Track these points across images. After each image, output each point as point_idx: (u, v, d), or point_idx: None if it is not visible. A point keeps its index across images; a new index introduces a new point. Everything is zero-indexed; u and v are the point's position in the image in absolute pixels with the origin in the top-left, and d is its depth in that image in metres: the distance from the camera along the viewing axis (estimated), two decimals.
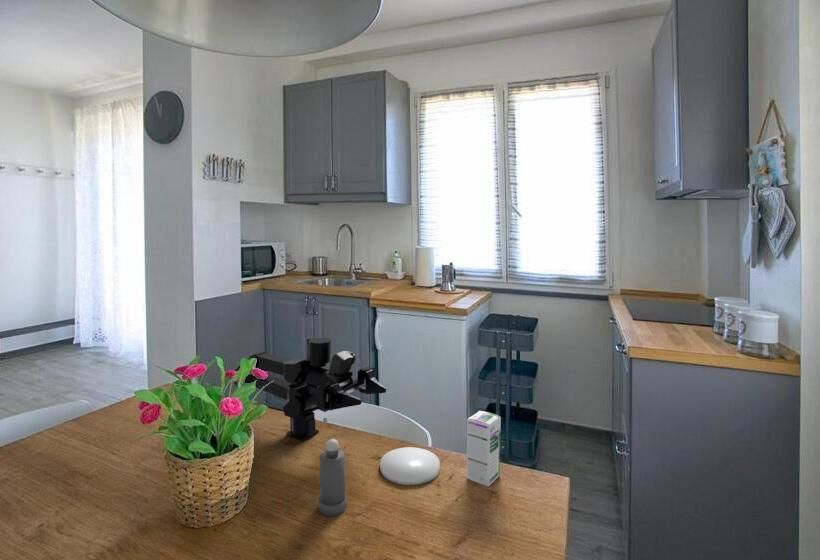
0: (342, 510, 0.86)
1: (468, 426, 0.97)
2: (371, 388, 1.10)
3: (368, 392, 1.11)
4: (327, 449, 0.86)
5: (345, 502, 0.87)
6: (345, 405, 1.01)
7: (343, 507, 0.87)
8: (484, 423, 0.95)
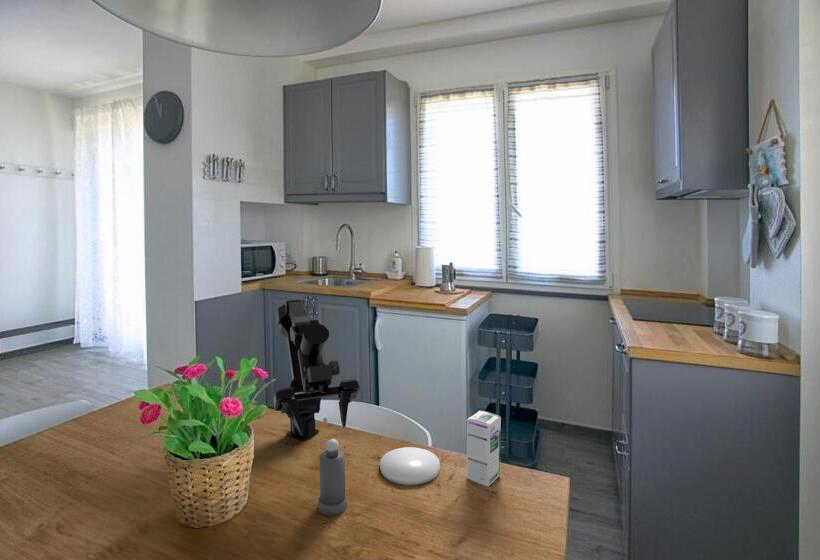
0: (342, 510, 0.86)
1: (468, 426, 0.97)
2: (340, 408, 0.99)
3: (339, 406, 1.01)
4: (327, 449, 0.86)
5: (345, 502, 0.87)
6: (293, 421, 0.95)
7: (343, 507, 0.87)
8: (484, 423, 0.95)
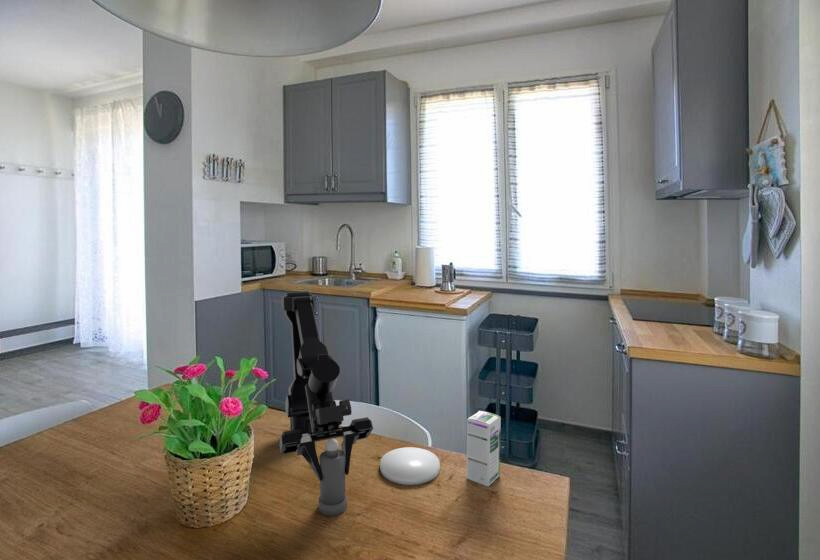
0: (342, 510, 0.86)
1: (468, 426, 0.97)
2: None
3: (341, 449, 0.92)
4: (327, 449, 0.86)
5: (345, 502, 0.87)
6: (310, 464, 0.88)
7: (343, 507, 0.87)
8: (484, 423, 0.95)
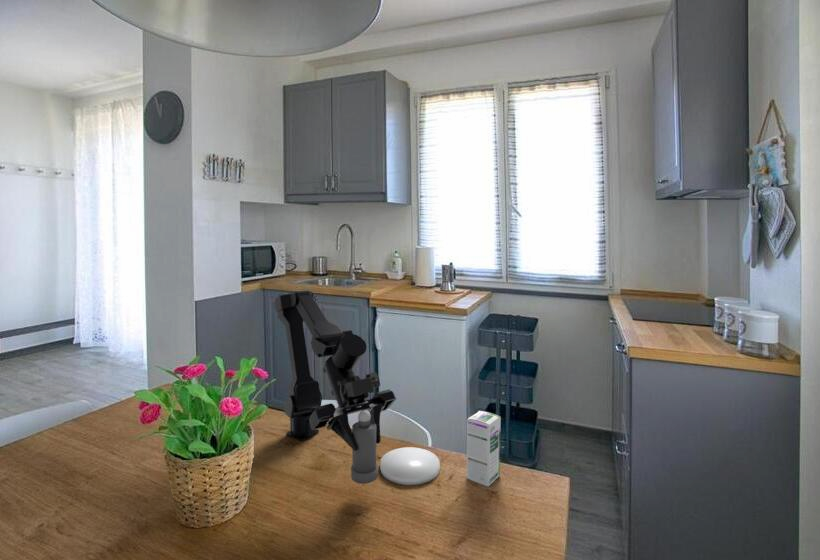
0: (375, 476, 0.90)
1: (468, 426, 0.97)
2: None
3: None
4: (361, 420, 0.89)
5: (377, 469, 0.91)
6: (342, 437, 0.90)
7: (376, 474, 0.91)
8: (484, 423, 0.95)
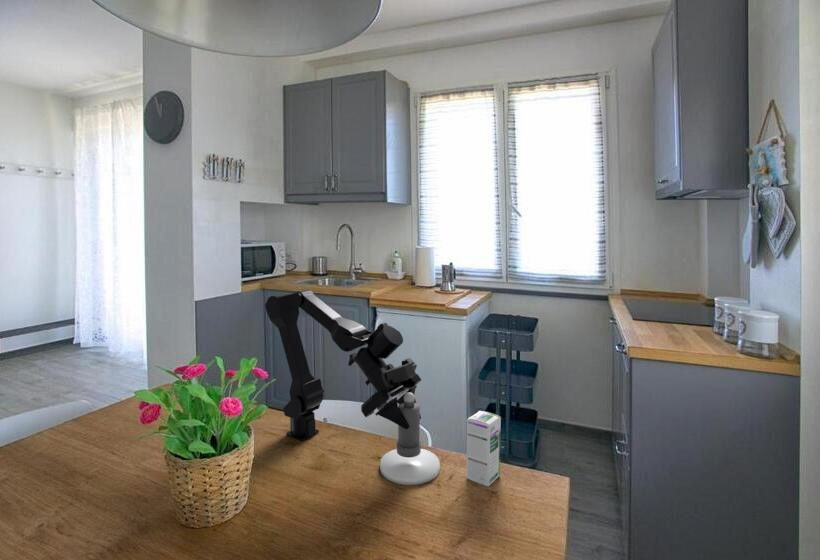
0: (420, 449, 1.02)
1: (468, 426, 0.97)
2: None
3: (400, 403, 1.06)
4: (409, 401, 0.99)
5: None
6: (391, 419, 0.99)
7: (420, 447, 1.02)
8: (484, 423, 0.95)
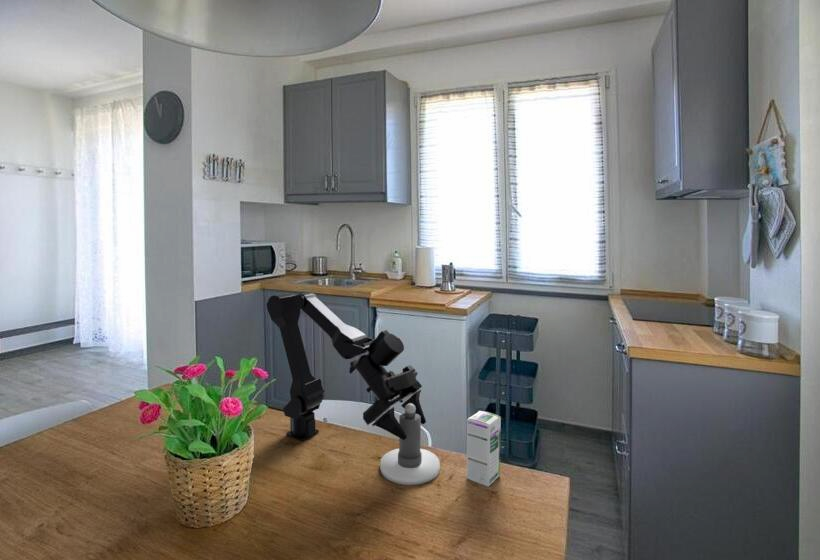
0: (421, 460, 1.03)
1: (468, 426, 0.97)
2: None
3: None
4: (409, 412, 1.00)
5: None
6: (388, 430, 0.98)
7: (421, 458, 1.03)
8: (484, 423, 0.95)
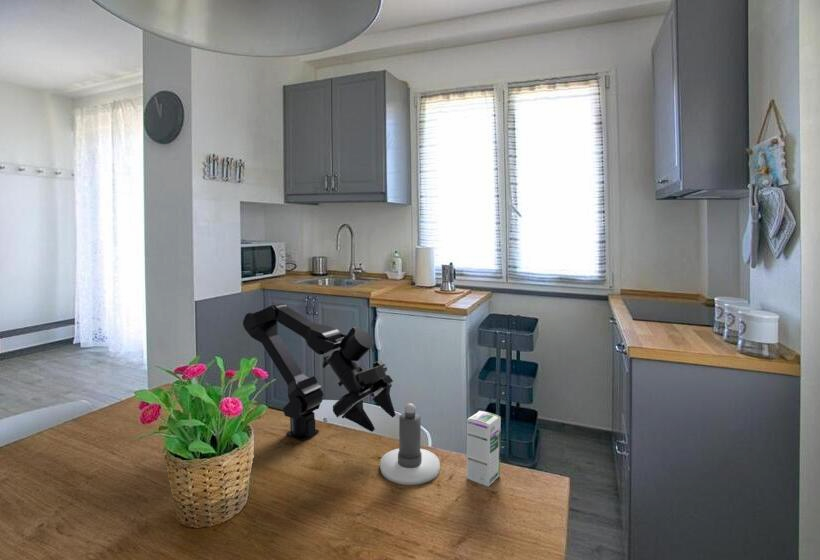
0: (421, 460, 1.03)
1: (468, 426, 0.97)
2: (381, 402, 1.11)
3: (376, 401, 1.12)
4: (409, 412, 1.00)
5: None
6: (357, 422, 1.02)
7: (421, 458, 1.03)
8: (484, 423, 0.95)
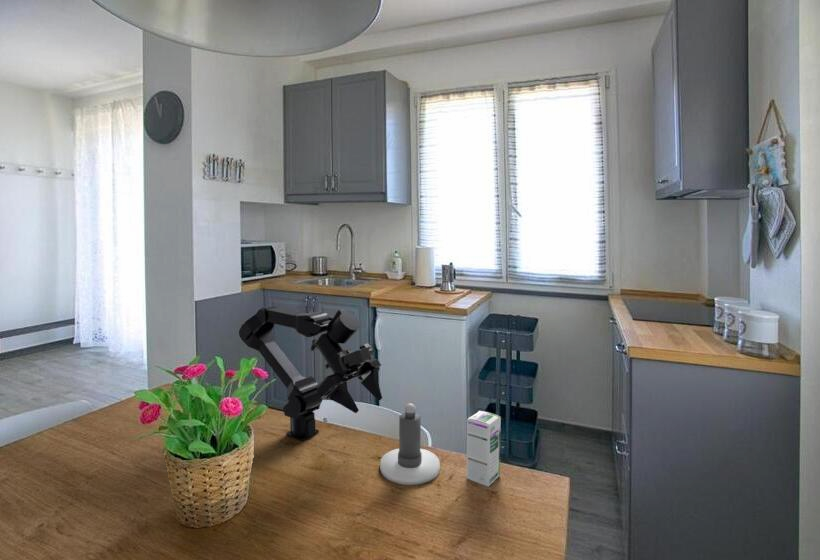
0: (421, 460, 1.03)
1: (468, 426, 0.97)
2: (369, 385, 1.11)
3: (364, 384, 1.12)
4: (410, 412, 1.00)
5: None
6: (341, 403, 1.02)
7: (421, 458, 1.03)
8: (484, 423, 0.95)
